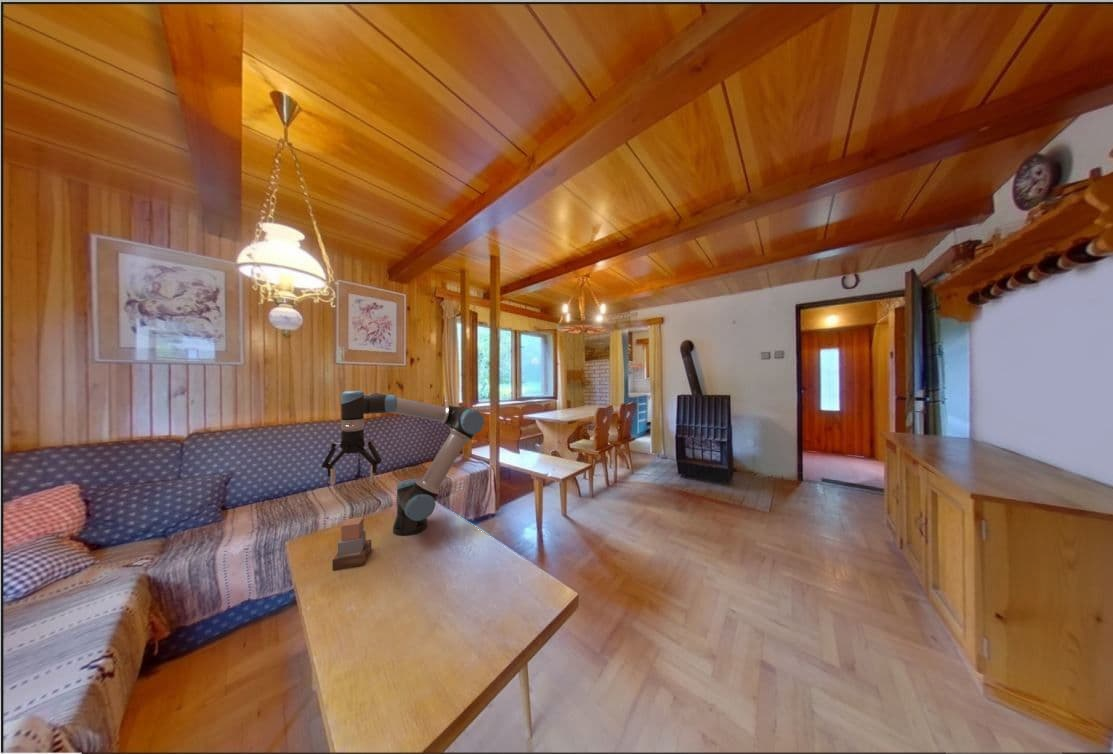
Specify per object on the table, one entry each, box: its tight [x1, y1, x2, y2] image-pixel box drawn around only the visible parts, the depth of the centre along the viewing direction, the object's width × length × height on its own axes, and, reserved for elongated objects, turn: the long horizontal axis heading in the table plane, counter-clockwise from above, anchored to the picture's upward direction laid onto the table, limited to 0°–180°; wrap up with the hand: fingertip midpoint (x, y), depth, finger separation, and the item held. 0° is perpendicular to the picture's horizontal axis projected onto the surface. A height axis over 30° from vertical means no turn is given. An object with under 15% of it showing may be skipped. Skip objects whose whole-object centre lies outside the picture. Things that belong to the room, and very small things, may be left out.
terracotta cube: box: [340, 516, 365, 541], centre depth 123 cm, size 6×6×6 cm
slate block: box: [337, 529, 367, 557], centre depth 123 cm, size 8×8×5 cm
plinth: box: [332, 539, 372, 571], centre depth 123 cm, size 12×10×4 cm
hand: (352, 482), depth 123 cm, fingers open, 13 cm apart
